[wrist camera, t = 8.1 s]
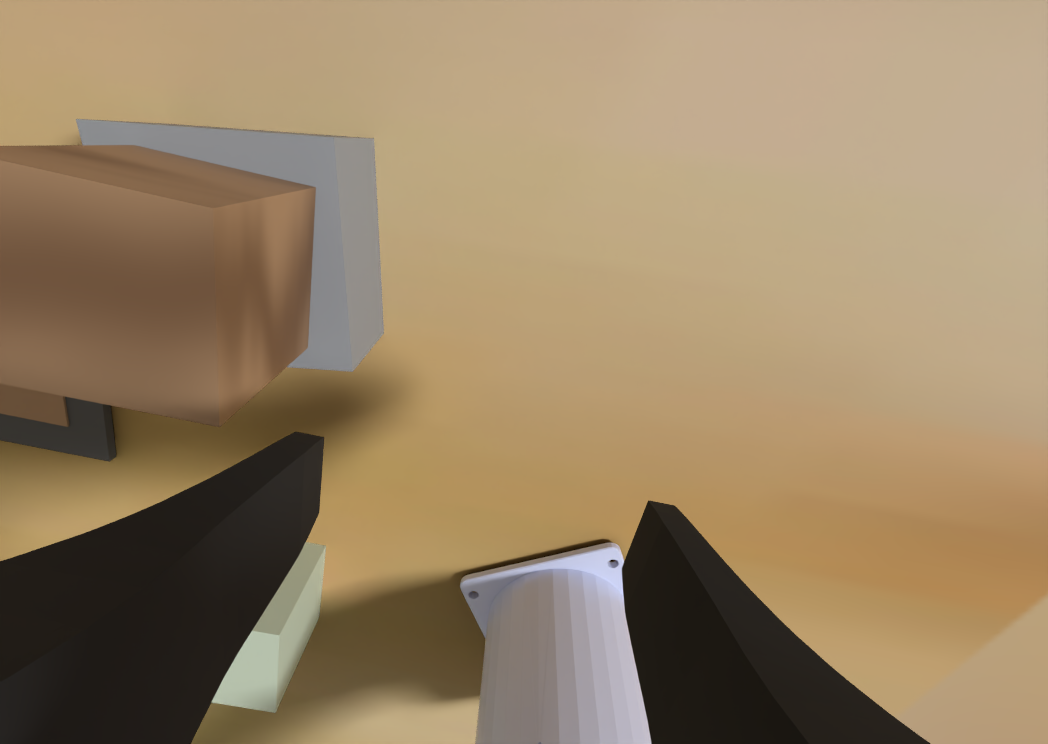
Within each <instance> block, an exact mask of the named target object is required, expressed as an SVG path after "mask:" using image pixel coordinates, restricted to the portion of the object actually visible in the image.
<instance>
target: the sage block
mask: <svg viewBox="0 0 1048 744" xmlns="http://www.w3.org/2000/svg"><path fill="white" fill-rule="evenodd" d="M325 551H326V546H324V545H319V544H314V543H308V542H305V544H304V546H303V549H302V551H301V553H300V555H299V556H298V558H297V560H296V561H295V563H294V565H293V566H292V568H291V570H290V571H289V573H288V574H287V576H286V578H285V579H284V581H283V582H282V584H281V586H280V587H279V589H278V590H277V592H276V594H275V595H274V597H273V598H272V600H271V602H270V603H269V605H268V606H267V608H266V609H265V611H264V613H263V614H262V616H261V617H260V619H259V621H258V622H257V624H256V625H255V627H254V628H253V630H252V632H251V633H250V635H249V636H248V638H247V640H246V641H245V643H244V644H243V646H242V648H241V649H240V651H239V652H238V654H237V656H236V657H235V659H234V661H233V663H232V664H231V666H230V668H229V670H228V671H227V673H226V675H225V677H224V679H223V680H222V682H221V684H220V686H219V688H218V690H217V692H216V694H215V696H214V698H213V700H212V703H218V704H224V705H230V706H236V707H242V708H248V709H255V710H261V711H267V712H273V713H276V711H277V709H278V707H279V704H280V702H281V700H282V698H283V696H284V693H285V691H286V689H287V687H288V685H289V683H290V680H291V678H292V676H293V674H294V672H295V669H296V667H297V665H298V663H299V661H300V658H301V656H302V654H303V652H304V650H305V647H306V645H307V643H308V641H309V639H310V636H311V634H312V632H313V630H314V628H315V625H316V623H317V621H318V619H319V615H320V604H321V593H322V583H323V572H324V562H325Z"/></svg>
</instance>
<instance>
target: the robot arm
mask: <svg viewBox="0 0 1048 744" xmlns="http://www.w3.org/2000/svg"><path fill="white" fill-rule="evenodd" d="M323 448H324V437H320V436H315V435H310V434H305V433H299V432H294V433H292V434H290V435H288V436H286V437H284V438H283V439H281V440H279V441H277V442H275V443H274V444H272V445H270V446H268V447H266V448H265V449H263V450H261V451H259V452H258V453H256V454H254V455H252V456H250V457H249V458H247V459H245V460H243V461H241V462H239V463H237V464H236V465H234V466H232V467H230V468H228V469H226V470H224V471H223V472H221V473H219V474H217V475H215V476H213V477H211V478H209V479H207V480H205V481H203V482H201V483H199V484H197V485H195V486H193V487H191V488H189V489H187V490H184V491H182V492H180V493H178V494H176V495H174V496H172V497H170V498H168V499H166V500H164V501H162V502H160V503H157V504H155V505H153V506H151V507H148V508H146V509H144V510H141V511H139V512H137V513H134V514H132V515H130V516H127V517H125V518H122V519H120V520H117V521H115V522H112V523H110V524H107V525H105V526H102V527H100V528H97V529H94V530H92V531H89V532H86V533H84V534H81V535H78V536H75V537H72V538H69V539H66V540H63V541H60V542H57V543H54V544H51V545H48V546H46V547H43V548H40V549H37V550H34V551H31V552H28V553H25V554H22V555H19V556H16V557H13V558H10V559H7V560H3V561H0V744H191V742H192V740H193V738H194V736H195V734H196V732H197V730H198V728H199V726H200V724H201V722H202V720H203V718H204V716H205V714H206V712H207V710H208V708H209V706H210V704H211V702H212V700H213V698H214V696H215V694H216V692H217V690H218V688H219V686H220V684H221V682H222V680H223V679H224V677H225V675H226V673H227V671H228V670H229V668H230V666H231V664H232V663H233V661H234V659H235V657H236V656H237V654H238V652H239V651H240V649H241V648H242V646H243V644H244V643H245V641H246V640H247V638H248V636H249V635H250V633H251V632H252V630H253V628H254V627H255V625H256V624H257V622H258V621H259V619H260V617H261V616H262V614H263V613H264V611H265V609H266V608H267V606H268V605H269V603H270V602H271V600H272V598H273V597H274V595H275V594H276V592H277V590H278V589H279V587H280V586H281V584H282V582H283V581H284V579H285V578H286V576H287V574H288V573H289V571H290V570H291V568H292V566H293V565H294V563H295V561H296V560H297V558H298V556H299V555H300V553H301V551H302V549H303V546H304V544H305V542H306V540H307V538H308V536H309V534H310V532H311V529H312V527H313V525H314V523H315V521H316V518H317V516H318V514H319V506H320V492H321V477H322V462H323ZM610 560H616V561H614V562H610ZM460 589H461V591H462V593H463V595H464V597H465V599H466V601H467V603H468V605H469V607H470V609H471V611H472V613H473V615H474V617H475V619H476V621H477V623H478V625H479V627H480V629H481V631H482V633H483V635H484V637H485V639H486V642H485V652H484V662H483V672H482V682H481V692H480V701H479V711H478V721H477V731H476V741H475V744H930V743H929V742H927V741H926V740H924V739H923V738H922V737H920V736H919V735H917V734H916V733H915V732H913V731H912V730H911V729H909V728H908V727H907V726H905V725H904V724H903V723H901V722H900V721H899V720H897V719H896V718H895V717H893V716H892V715H891V714H889V713H888V712H887V711H885V710H884V709H883V708H882V707H880V706H879V705H878V704H877V703H875V702H874V701H873V700H872V699H870V698H869V697H868V696H866V695H865V694H864V693H863V692H861V691H860V690H859V689H858V688H856V687H855V686H854V685H853V684H851V683H850V682H849V681H848V680H846V679H845V678H844V677H843V676H842V675H841V674H839V673H838V672H837V671H836V670H835V669H833V668H832V667H831V666H830V665H829V664H827V663H826V662H825V661H824V660H823V659H822V658H821V657H820V656H819V655H817V654H816V653H815V652H814V651H813V650H812V649H811V648H810V647H809V646H807V645H806V644H805V643H804V642H803V641H802V640H801V639H800V638H798V637H797V636H796V635H795V634H794V633H793V632H792V631H791V630H790V629H789V628H788V627H787V626H786V625H785V624H784V623H783V622H782V621H781V620H780V619H779V618H778V617H777V616H776V615H775V614H774V613H773V612H772V611H771V610H770V609H769V608H768V607H767V606H766V605H765V604H764V603H763V602H762V601H761V600H760V599H759V598H758V597H757V596H756V595H755V594H754V593H753V592H752V591H751V590H750V589H749V588H748V587H747V586H746V584H745V583H744V582H743V581H742V580H741V579H740V578H739V577H738V576H737V575H736V574H735V573H734V571H733V570H732V569H731V568H730V567H729V566H728V565H727V564H726V563H725V561H724V560H723V559H722V558H721V557H720V556H719V555H718V553H717V552H716V551H715V550H714V549H713V548H712V547H711V545H710V544H709V543H708V542H707V541H706V540H705V539H704V537H703V536H702V535H701V534H700V533H699V532H698V531H697V529H696V528H695V527H694V526H693V525H692V524H691V523H690V521H689V520H688V519H687V518H686V517H685V516H684V515H683V514H682V513H681V512H680V511H679V510H678V509H677V507H676V506H674V505H669V504H664V503H658V502H653V501H648V503H647V505H646V508H645V510H644V513H643V516H642V518H641V521H640V523H639V526H638V528H637V531H636V533H635V536H634V538H633V541H632V543H631V546H630V549H629V551H628V554H627V556H626V559H625V561H624V559H623V556H622V553H621V550H620V547H619V546H618V545H617V544H615V543H612V542H610V543H604V544H599V545H595V546H591V547H586V548H582V549H578V550H573V551H569V552H565V553H560V554H556V555H552V556H547V557H543V558H538V559H534V560H530V561H525V562H521V563H517V564H512V565H508V566H504V567H499V568H495V569H491V570H486V571H482V572H478V573H473V574H469V575H466V576H464V577H463V578H462V579H461V583H460ZM471 591H476V592H471Z"/></svg>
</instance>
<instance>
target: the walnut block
mask: <svg viewBox="0 0 1048 744" xmlns="http://www.w3.org/2000/svg"><path fill="white" fill-rule="evenodd" d="M315 196H316V187H313V186H309V185H304V184H300V183H296V182H291V181H287V180H283V179H278V178H274V177H270V176H265V175H261V174H257V173H253V172H248V171H244V170H240V169H235V168H231V167H227V166H222V165H218V164H214V163H209V162H205V161H201V160H197V159H192V158H188V157H184V156H179V155H175V154H171V153H166V152H162V151H158V150H153V149H149V148H145V147H141V146H136V145H66V146H0V384H5V385H10V386H15V387H20V388H25V389H30V390H35V391H40V392H45V393H50V394H55V395H60V396H65V397H70V398H75V399H80V400H85V401H90V402H96V403H101V404H106V405H111V406H116V407H121V408H126V409H131V410H136V411H141V412H146V413H151V414H156V415H161V416H166V417H171V418H176V419H181V420H186V421H192V422H197V423H202V424H207V425H212V426H217V427H220V426H221V425H222V424H224V423H225V422H226V421H227V420H228V419H229V418H230V417H231V416H232V415H234V414H235V413H236V412H237V411H238V410H239V409H240V408H241V407H242V406H244V405H245V404H246V403H247V402H248V401H249V400H250V399H251V398H253V397H254V396H255V395H256V394H257V393H258V392H259V391H260V390H261V389H263V388H264V387H265V386H266V385H267V384H268V383H269V382H270V381H272V380H273V379H274V378H275V377H276V376H277V375H278V374H279V373H280V372H282V371H283V370H284V369H285V368H286V367H287V366H288V365H289V364H291V363H292V362H293V361H294V360H295V359H296V358H297V357H298V356H299V355H301V354H302V353H303V352H304V351H305V350H306V349H307V348H308V337H309V317H310V297H311V277H312V257H313V236H314V216H315Z"/></svg>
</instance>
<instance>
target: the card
mask: <svg viewBox="0 0 1048 744" xmlns="http://www.w3.org/2000/svg"><path fill="white" fill-rule="evenodd" d="M0 440H2V441H7V442H12V443H17V444H22V445H28V446H33V447H38V448H43V449H48V450H53V451H58V452H63V453H68V454H74V455H79V456H84V457H89V458H94V459H99V460H104V461H109V462H110V461H111V460H112V459H114V458H115V457H116V449H115V440H114V431H113V423H112V414H111V406H110V405H106V404H101V403H96V402H90V401H85V400H80V399H75V398H70V397H65V396H60V395H55V394H50V393H45V392H40V391H35V390H30V389H25V388H20V387H15V386H10V385H5V384H0Z"/></svg>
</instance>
